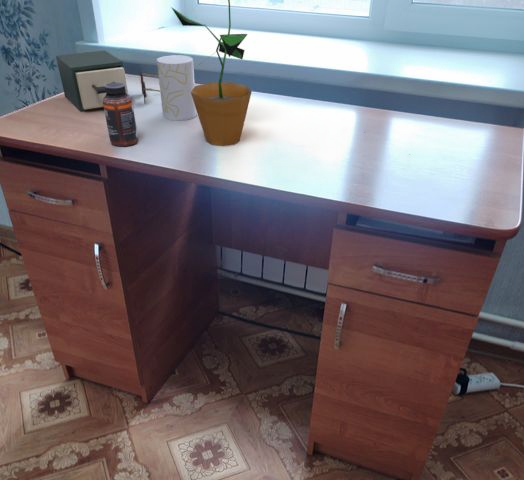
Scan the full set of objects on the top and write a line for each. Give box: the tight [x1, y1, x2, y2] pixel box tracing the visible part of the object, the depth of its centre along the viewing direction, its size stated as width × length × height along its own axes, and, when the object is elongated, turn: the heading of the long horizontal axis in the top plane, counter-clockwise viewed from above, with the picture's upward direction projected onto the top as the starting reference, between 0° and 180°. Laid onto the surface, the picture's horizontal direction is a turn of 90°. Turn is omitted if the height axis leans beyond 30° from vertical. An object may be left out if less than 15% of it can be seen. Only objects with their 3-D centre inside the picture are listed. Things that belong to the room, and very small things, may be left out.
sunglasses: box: [139, 72, 161, 104], centre depth 132 cm, size 14×15×5 cm
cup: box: [156, 54, 198, 121], centre depth 119 cm, size 8×8×12 cm
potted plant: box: [170, 0, 253, 147], centre depth 100 cm, size 18×19×30 cm
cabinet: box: [55, 50, 125, 112], centre depth 127 cm, size 14×13×10 cm
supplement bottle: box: [103, 83, 139, 147], centre depth 105 cm, size 6×6×11 cm
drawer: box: [75, 66, 129, 109], centre depth 124 cm, size 17×11×8 cm, turn 31°
